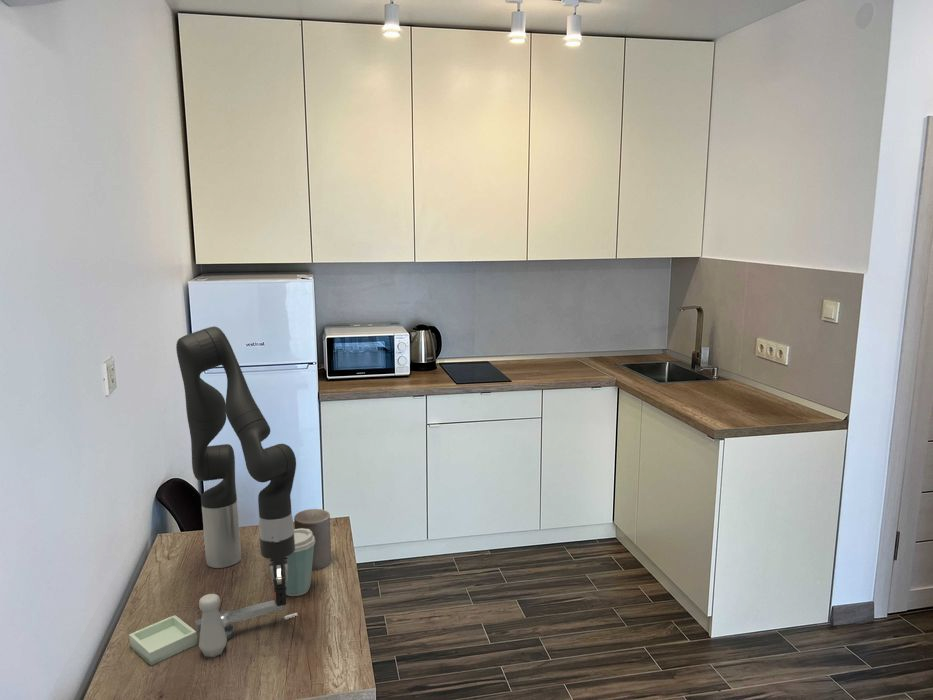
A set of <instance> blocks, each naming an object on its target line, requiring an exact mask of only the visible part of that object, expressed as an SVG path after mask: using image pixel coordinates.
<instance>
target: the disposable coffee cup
mask: <svg viewBox="0 0 933 700" xmlns="http://www.w3.org/2000/svg"><path fill="white" fill-rule="evenodd" d="M294 541H295V550H294V552H293V553H292V554H291V555H289V556H286V557H287V558H288V570H287V577H288V580H287V582H286V584H287V585H286V586H287V588H286V589H287V590H286V596H290V597H299V596H302V595H305V594H306V593H308V592H309V590H310V588H311V581H312V573H313V570H312V562H313V551H314V544H315V537H314V536H313V533H312V531H311V530H309V529H303V528H300V529H295V528H294Z"/></svg>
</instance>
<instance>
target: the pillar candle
mask: <svg viewBox="0 0 933 700" xmlns="http://www.w3.org/2000/svg"><path fill="white" fill-rule="evenodd" d="M293 518H294V519H293V525H294V529H300V528H303V529H309V530H311V531H312V533H313V536H314V537H315V544H314V551H313V562H312V571H316V570H317V571H318V570H322V569H324V568H326V567H328V566H329V565H330V564H331V563H332V541H331V538H332V537H331V514H330V512H329V511H327V510H325V509H323V508H310V509H304V510H301V511H299V512H297V513H296V514H295V515H294V516H293Z"/></svg>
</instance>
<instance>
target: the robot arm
mask: <svg viewBox="0 0 933 700" xmlns="http://www.w3.org/2000/svg"><path fill="white" fill-rule="evenodd" d="M175 349H176V356H177V360H178V365H179V369H180V373H181V377H182V382H183V388H184V395H185V396H184V397H185V407H186V409H185V410H186V417H187V423H188V424H187V425H188V428H189V435H190V442H191V448H190V449H191V467H192V473H193V475H194V478H195V479H197V480H198V481H200V482H208V481H216V480H221V481H220V482H219V483H218V484H216V485H214V486H212V487H211V488H209V489H207V490H204V491H203V492H202V494H201V495H200V496H201V497H200V504H201V513H202V524H203V526H202V527H203V528H202V530H203V540H204V541H203V543H204V551H205V552H204V554H205V561H206V565H207V566H208V567H209V568H214V569H222V568H229V567H232V566H234V565H236V564H237V563H239V562H240V561H241V560H242V549H241V547H242V546H241V535H240V534H241V533H240V522H239V510H238V496H237V487H236V458H235V450H234V448H233V447H232V445H231V444H229V443H227V444H226V443H224V444H216V445H215V444H214V445H209V444H210V443H211V442H213V440H214V439H215V438H216V437H217V436H218V435H219V434H220V432H221V431H222V430H223V428H224V427H225V425H226V422H227V420H228V422H229V424H230V425H231V428H232V429H233V431H234V433H235V435H236V436H237V438H238V440H239V442H240V445H241V449H242V454H243V459H244V462H245V465H246V470H247V472H248V474H249V475H250V477H251V478H252V479H253V480H254V481H257V482H258V483H267V482H269V483H268V485H266V486H265V487H264V488H263V489H261V490H260V492H259V493H258V495H257V496H258V499H257V504H258V506H257V507H258V516H259V517H258V519H259V520H258V531H259V532H258V534H259V550H260V555H261V556H262V557H263V558H264V559H269V571H270V573H271V583H272V584H273V585H274V586H273V592H274V591H275V593H276V604H277V606H283V605H285V606H286V605H287V595H286V590H287V589H286V588H287V586H286V585H287V584H286V582H287V580H288V577H287V570H288V558H287V557H286V556H289V555H291V554H292V553H293V552H294V550H295V541H294V529H295V527H294V519H293V518H294V517H293V515H292V501H291V499H292V498H291V493H292V489H293V485H294V480H295V475H296V471H297V470H296V469H297V458H296V455H295V452H294V451H293V449H292V447H291V446H290V445H288V444H286V443H277V444H275V445H271V446H269V447H265V448H264V447H263V444H262V442H263V441H264V440H266V439H267V438H269V435H270V433H271V427H270V425H269V423H268V421H267V420H266V418H265V416H264V415H263V413H262V411H261V409H260V408H259V406H258V405H257V403H256V401H255V399H254V397H253V395H252V392H251V390H250V388H249V386H248V383H247V381H246V379H245V375H244V374H243V371H242V368H241V366H240V364H239V361H238V359H237V357H236V355H235V352H234V349H233V347H232V345H231V343H230V341H229V339H228V337H227V336H226V334H225V333H224V331H223V330H222V329H221V328H219V327H217V326H209V327H206V328H203V329H200V330H196V331H193V332H190V333H187V334H185V335H183V336H181V337H180V338H178V340H177V341H176V348H175ZM219 366H222V368H223V370H224V372H225V375H226V381H227V383H226V385H227V386H226V396H225V397H224V395H223V394H222V393H221V391H219V390H218V389H217V388H216V387H215V386H213V385H211V384H209V383H207V382H206V381H205V380H204V379H202V378H201V374H202V373H203V372H206V371H209V370H212V369H214V368H217V367H219Z"/></svg>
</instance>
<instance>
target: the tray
mask: <svg viewBox="0 0 933 700" xmlns="http://www.w3.org/2000/svg"><path fill="white" fill-rule="evenodd" d="M197 634H198V632H197V630H195V629H193V627H191V626H190V625H189V624H187V623H186V622H184V621H183V620H182V619H181V618H180V617H178V616H177V615H176V614H175V615H172V616H169V617H167V618H165V619H162V620H160V621H157V622H155V623H152V624H151V625H148V626H145V627H143V628H141V629H139V630H137V631H134V632H131V633H129V634H128V637H129V645H130V648H131V649H132V650H133V651H134V650H135V651H136V654H137V655H138V656H139V657H141V658H142V659H143V660H144V661H145V662H147V664H148V665H150V666H151V667H152V666H154V665H156V664H158V663H160V662H162V661H164V660H167V659H168V658H171V657H173V656H175V655H177V654H179V653H182V652H184V651H186V650H188V649H190V648H192V647H194V646H196V644H197V645H199V641H198V635H197ZM183 650H184V651H183ZM135 651H134V652H135Z"/></svg>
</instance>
